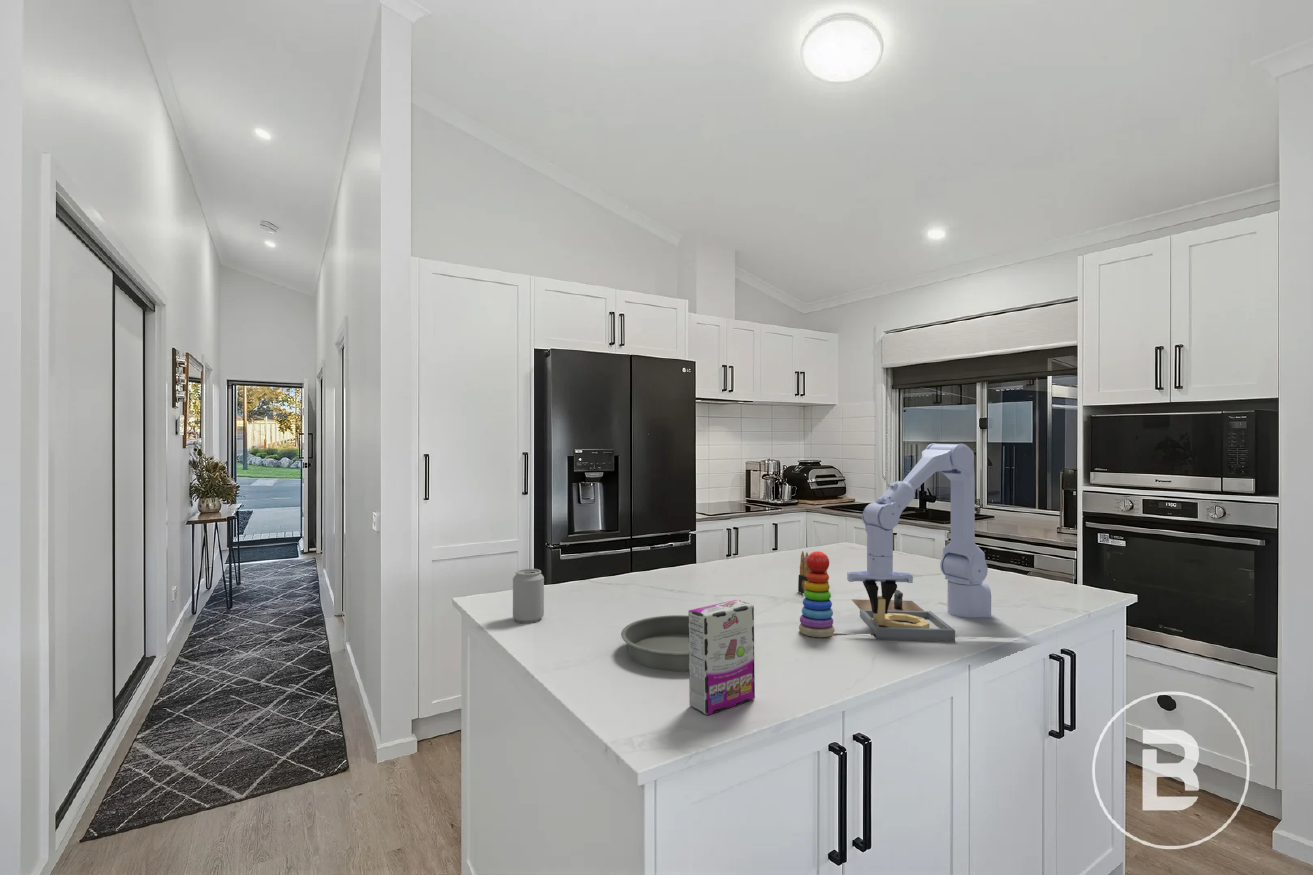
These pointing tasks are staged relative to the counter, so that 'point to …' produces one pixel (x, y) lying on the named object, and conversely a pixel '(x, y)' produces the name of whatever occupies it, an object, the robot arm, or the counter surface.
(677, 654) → the cake pan
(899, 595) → the stake
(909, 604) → the stake board
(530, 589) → the can
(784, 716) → the counter surface
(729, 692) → the candy bar box
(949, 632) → the tray
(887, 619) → the ring
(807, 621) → the stacking toy
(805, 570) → the ammunition clip
